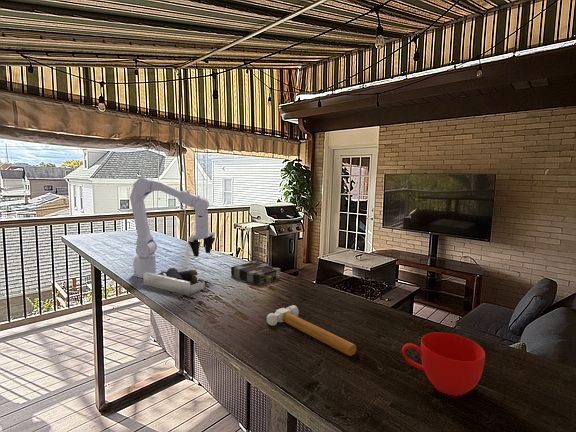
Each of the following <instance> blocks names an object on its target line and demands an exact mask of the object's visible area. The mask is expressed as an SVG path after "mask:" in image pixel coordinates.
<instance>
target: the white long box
mask: <svg viewBox="0 0 576 432" xmlns="http://www.w3.org/2000/svg"><path fill="white" fill-rule="evenodd" d="M166 272H167V270H161V271H159V272H156V274H154V273H149V272H144V273H143V276H144V278H143V285H145V286H149V287H154V288H157V289H161V290H164V291H169V292H173V293H176V294H181V295H183V296H187V297H188V296H190V295H192V294H195V293H197V292H200V291H201V290H204V289H206V281H205V280H204V279H203V278H202V279H201V278H197V282H196V283H194V284H191V282H188V281H184V280H180V279H175V278H171V277H167V276H166V275H164V274H166Z"/></svg>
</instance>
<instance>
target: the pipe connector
mask: <svg viewBox="0 0 576 432" xmlns="http://www.w3.org/2000/svg"><path fill="white" fill-rule="evenodd" d="M165 274H166V275H165V276H167V277H171V278H175V279H180V280H184V281H188V282H190V283H193V282H198V277H197V276H198V271H197V270H196V269H190V270H181V271H178V269H177V268H175V267H170V268H169V269H167V270H166V273H165Z"/></svg>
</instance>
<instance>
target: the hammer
mask: <svg viewBox="0 0 576 432" xmlns="http://www.w3.org/2000/svg"><path fill="white" fill-rule="evenodd" d="M299 312H300V311H299V308H298V307H297V305H293V304H292V305H289V306H287V307H286V308H285V307H281V308H278V309H276V310H275V311H274V313H273V312H271V313H268V314H267V316H266V323H267V324H268V325H269V326H276V325H277V324H278V323H286V324H287V325H289V326H291V327H293V328H295V329H297V330H299V331H300V332H302V333H305V334H306V335H308V336H310V337H312V338H314V339H315V340H318V341H320V342H321V343H323V344H325V345H327V346H329V347H331V348H333V349H335V350H336V351H338V352H341V353H343V354H344V355H347V356H349V357H352V356H353V355H355V354H356V352H357V345H356V344H354V343H352V342H351V341H348V340H346V339H345V338H342V337H340V336H338V335H336V334H334V333H332V332H330V331H328V330H325V329H324V328H322V327H320V326H318V325H316V324H313V323H311V322H309V321H307V320H305V319H303V318H301V317H299Z"/></svg>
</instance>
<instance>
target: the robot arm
mask: <svg viewBox="0 0 576 432" xmlns="http://www.w3.org/2000/svg"><path fill="white" fill-rule="evenodd" d="M152 192H163V193H164V194H168V195H170V196H172V197H175V198H176V199H177V200H178V202H179V203H181V204H183V205H185V206H188V207H189V208H193V209H194V212H195V213H194V214H195V215H194V231H195V232H194V235H191V236H188V241H187V243H188V244H189V245H188V246H190V248H191V250H192V253H193V257H199V254H200V246H201V244H202V242H201V241H199V240H203V243H204V250H205V251H204V252H205V253H206V254H211V250H212V247H213V244H214V242H215V240H216V238H215V232H212V231H210V232H209V210H208V208H209V207H210V203H209V200H208V199H207V198H205V197H201V195H196V194H194V193H192V192H191V191H190V190H189V189H187V190H186V189H185V190H179V189H177V188H175V187H173V186H171V185H169V184H167V183H165V182H163V181H162V180H159V179H155V178H152V177H139V178H138V179H136V181H134V183H133V186H132V190H131V193H130V196H129V200H130V205H131V210H132V214H133V220H134V225H135V230H136V235H137V238H136V241H135V243H136V248H135V254H136V255H137V256H135V257H134V259H133V274H131V275H132V276H133V277H137V278H141V279H144V276H143V273H144V272H149V273H154V274H156V273H157V268H156V267H157V266H156V260H157V259H156V253H155V252H156V251H157V249H158V245H157V243H156V241H155V240H154V237H153V235H152V234H151V230H150V226H149V220H148V215H147V211H146V205H145V201H144V200H145V199H146V198H147V196H148V195H149V194H151V193H152Z"/></svg>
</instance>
